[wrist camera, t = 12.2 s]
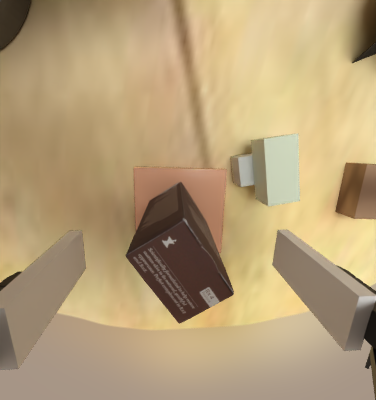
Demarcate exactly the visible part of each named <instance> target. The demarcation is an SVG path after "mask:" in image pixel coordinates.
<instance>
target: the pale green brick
mask: <svg viewBox="0 0 376 400" xmlns="http://www.w3.org/2000/svg"><path fill="white" fill-rule="evenodd" d="M251 146H252V159H253V171H254V184H255V197H256V199H257V200H258V201H260V202H262V203H263V204H265V205H267V206H273V205H279V204H285V203H291V202H297V201H300V186H299V145H298V134H291V135H283V136H276V137H269V138H263V139H257V140H251Z"/></svg>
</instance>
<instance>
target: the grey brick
mask: <svg viewBox="0 0 376 400" xmlns="http://www.w3.org/2000/svg"><path fill="white" fill-rule="evenodd" d="M231 165H232V175H233V183H235V184H237V185H238V186H240V187H244V186H250V185H255V184H254V171H253V159H252V153H250V154H244V155H238V156H232V157H231Z"/></svg>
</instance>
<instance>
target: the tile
mask: <svg viewBox="0 0 376 400" xmlns="http://www.w3.org/2000/svg"><path fill="white" fill-rule="evenodd" d="M226 174H227V169H215V168H172V167H134V190H135V223H136V231H137V229H138V226H139V224H140V221H141V219H142V217H143V214H144V212H145V210H146V207H147V205H148V203H149V201H150V200H151V199H153V198H155V197H156V196H158V195H159V194H161V193H163V192H164V191H166V190H167V189H169V188H170V187H172V186H174V185H175V184H177V183H179V182H182V184H183V185H184V187H185V188H186V190H187V191H188V193H189V194H190V196H191V197H192V199H193V201H194V202H195V204H196V205H197V207H198V209H199V210H200V212H201V213H202V215H203V217H204V218H205V220H206V222H207V224H208V227H209V229H210V231H211V234H212V237H213V239H214V242H215V244H216V247H217V249H218V252H219V253H221V243H222V230H223V216H224V202H225V188H226Z"/></svg>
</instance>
